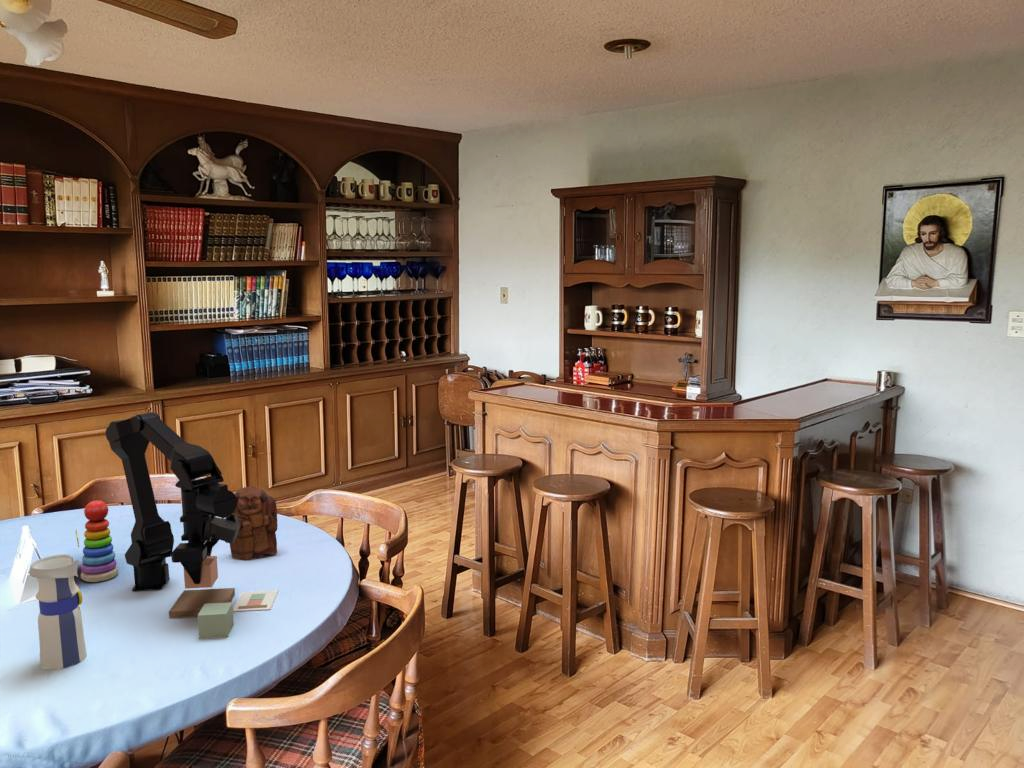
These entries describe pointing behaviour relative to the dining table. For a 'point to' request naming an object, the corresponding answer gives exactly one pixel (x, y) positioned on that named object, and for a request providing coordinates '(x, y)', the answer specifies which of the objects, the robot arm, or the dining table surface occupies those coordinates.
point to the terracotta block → (204, 574)
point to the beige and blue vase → (59, 612)
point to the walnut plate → (199, 601)
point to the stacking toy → (97, 545)
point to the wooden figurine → (255, 524)
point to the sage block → (215, 620)
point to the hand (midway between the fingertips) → (201, 578)
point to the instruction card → (255, 601)
